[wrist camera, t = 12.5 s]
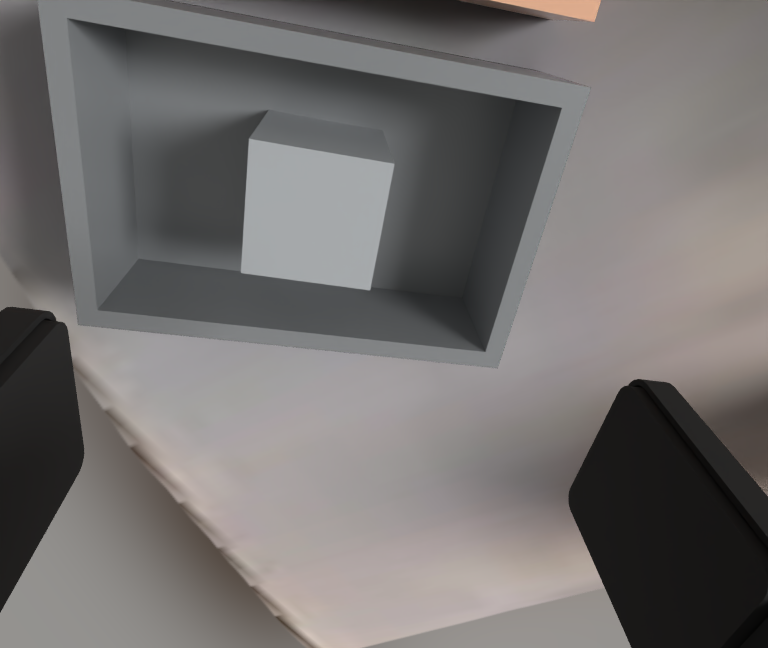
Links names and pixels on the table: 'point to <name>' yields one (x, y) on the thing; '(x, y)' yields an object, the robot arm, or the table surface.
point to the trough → (547, 8)
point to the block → (315, 200)
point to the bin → (229, 173)
